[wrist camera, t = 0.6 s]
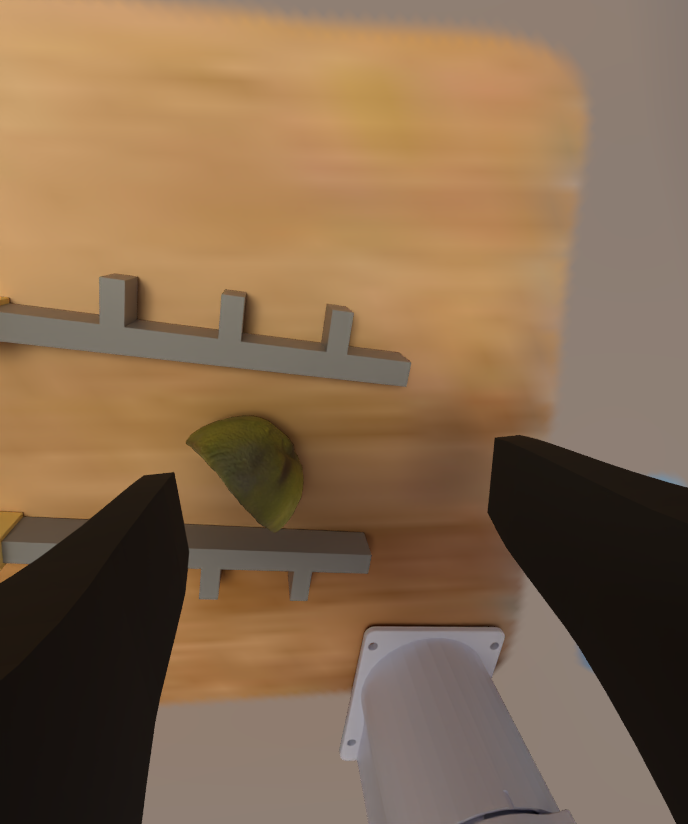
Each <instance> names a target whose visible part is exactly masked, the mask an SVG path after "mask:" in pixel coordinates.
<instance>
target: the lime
mask: <svg viewBox="0 0 688 824" xmlns="http://www.w3.org/2000/svg"><path fill="white" fill-rule="evenodd" d="M186 444H187V445H189V446H191V447H192V449H193V450H194V451H195V452H197V453H198V454H199V455H200V456H201V457H202V458H203V459H204V460H205V461H206V462H207V464H208V465H209V466H210V467H211V468H212V469H213V470H214V471H216V472H217V474H218V475H219V477H220V478H221V479H222V481H223V482H224V483H225V485H226V486H227V488H228V490H229V491H230V492H231V493H232V494H233V495H234V496H235V497H236V498H237V500H238V501H239V503H240V504H241V505H243V507H244V508H245V509H246V510H247V511H248V512H249V513H251V515H252V516H253V517H254V518H255V519H256V521H257V522H258V523H260V524H261V525H262V526H263V527H264V526H265V527H266V528H267V529H269V531H271V532H273V533H275V532H277V531H279V530H280V529H281V528H282V527H283V526H284V525H285V524H286V523H287V521H288V520H289V519H290V518H291V516H292V515H293V513H294V511H295V509H296V506H297V504H298V503H299V500H300V499H301V495H302V490H303V483H304V482H303V471H302V465H301V464H300V462H299V458H298V456H297V454H296V453H295V451H294V445H293V443H292V442H291V441H290V439H288V438H287V436H286V435H285V434H284V433H282V432H281V431H280V430H279V429H278V428H276V427H275V426H274V425H273V424H272V423H270V422H269V421H267V420H265V419H262V418H259V417H255V416H237V417H231V418H226V419H223V420H219V421H216V422H213V423H211V424H208V425H206V426H204V427H202V428H200V429H199V430H197V431H196V432H194V433H193V434H191V435H190V437H189V438H188V439H187V440H186Z"/></svg>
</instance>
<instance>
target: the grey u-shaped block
mask: <svg viewBox="0 0 688 824" xmlns="http://www.w3.org/2000/svg"><path fill="white" fill-rule="evenodd" d="M137 294H138V277H136V276H129V275H122V274H110V275H106V276H101V277H99V304H100V315H98V314H90V313H82V312H74V311H66V310H59V309H51V308H43V307H35V306H27V305H19V304H11V303H9V298H7V297H0V341H1V342H10V343H19V344H28V345H37V346H46V347H55V348H64V349H73V350H82V351H91V352H100V353H109V354H118V355H127V356H136V357H145V358H154V359H162V360H171V361H180V362H189V363H198V364H207V365H216V366H225V367H234V368H243V369H252V370H261V371H270V372H279V373H288V374H297V375H306V376H315V377H324V378H333V379H342V380H350V381H359V382H368V383H377V384H386V385H395V386H404V387H406V386H407V381H408V376H409V371H410V366H411V362H410V361H409V360H408V359H406V358H405V357H404V356H403V355H402V354H400V353H399V352H391V351H383V350H375V349H367V348H359V347H351V346H349V339H350V333H351V327H352V321H353V315H354V313H353V312H352V311H351V310H350V309H348V308H347V307H345V306H338V305H331V304H327V306H326V313H325V320H324V327H323V334H322V341H321V343H320V342H312V341H304V340H296V339H288V338H280V337H272V336H264V335H256V334H248V333H243V324H244V313H245V302H246V292H241V291H234V290H227V289H225V290H224V292H223V293H222V296H221V309H220V323H219V330H217V329H209V328H201V327H193V326H185V325H177V324H169V323H161V322H153V321H146V320H138V319H137ZM87 521H88V520H84V519H62V518H41V517H23V513H21V512H0V571H1V570H2V568H3V567H4V566H5V565H6V563H19V564H31V563H32V562H33V561H35V560H36V559H38V558H39V557H41V556H42V555H43V554H45V553H46V552H47V551H49V550H50V549H51V548H53V547H54V546H55V545H57V544H58V543H59V542H61V541H62V540H63V539H65V538H66V537H67V536H69V535H70V534H71V533H73V532H74V531H75V530H77V529H78V528H79V527H81V526H82V525H83V524H84V523H86V522H87ZM184 526H185V531H186V537H187V542H188V547H189V561H188V568H193V569H201V579H200V593H199V599H218V594H219V586H220V578H221V569H227V570H262V571H289V572H288V581H289V595H290V601H307V600H308V594H309V587H310V581H311V575H312V572H331V573H366V574H368V571H369V566H370V561H371V556H372V555H371V552H370V549H369V546H368V543H367V540H366V537H365V534H364V533H363V532H341V531H320V530H298V529H280V530H279V531H277V532H275V533H273V532H271V531H269V529H267V528H255V527H234V526H212V525H191V524H184Z"/></svg>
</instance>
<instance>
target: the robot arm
mask: <svg viewBox="0 0 688 824" xmlns="http://www.w3.org/2000/svg"><path fill="white" fill-rule="evenodd" d="M488 514H489V516H490V518H491V520H492V522H493V524H494V526H495V528H496V530H497V532H498V534H499V535H500V537H501V539H502V541H503V542H504V544H505V546H506V548H507V549H508V551H509V552H510V553H511V555H512V556H513V558H514V559H515V560H516V562H517V563H518V564H519V566H520V567H521V569H522V570H523V571H524V573H525V574H526V575H527V577H528V578H529V579H530V581H531V582H532V583H533V585H534V586H535V587H536V589H537V590H538V591H539V593H540V594H541V595H542V597H543V598H544V599H545V601H546V602H547V603H548V605H549V606H550V607H551V609H552V610H553V611H554V613H555V614H556V615H557V617H558V618H559V619H560V621H561V622H562V624H563V625H564V626H565V628H566V629H567V630H568V632H569V633H570V635H571V636H572V638H573V639H574V641H575V642H576V644H577V645H578V646H579V648H580V650H581V651H582V653H583V655H584V656H585V658H586V660H587V661H588V663H589V665H590V666H591V668H592V670H593V671H594V673H595V675H596V676H597V678H598V679H599V681H600V683H601V685H602V686H603V688H604V690H605V691H606V693H607V695H608V696H609V698H610V700H611V702H612V704H613V705H614V707H615V709H616V711H617V712H618V714H619V716H620V718H621V720H622V721H623V723H624V725H625V727H626V728H627V730H628V732H629V734H630V736H631V737H632V739H633V741H634V743H635V745H636V746H637V748H638V750H639V752H640V754H641V756H642V758H643V760H644V762H645V764H646V766H647V768H648V769H649V771H650V773H651V775H652V777H653V779H654V781H655V783H656V785H657V787H658V789H659V790H660V792H661V794H662V796H663V798H664V800H665V802H666V804H667V806H668V808H669V810H670V812H671V814H672V816H673V818H674V820H675V822H676V824H688V488H687V487H683V486H679V485H676V484H672V483H669V482H665V481H662V480H658V479H655V478H652V477H649V476H645V475H642V474H639V473H635V472H632V471H629V470H626V469H623V468H620V467H617V466H614V465H611V464H608V463H605V462H602V461H599V460H596V459H593V458H591V457H588V456H585V455H582V454H579V453H576V452H574V451H571V450H568V449H565V448H562V447H559V446H556V445H553V444H550V443H547V442H544V441H541V440H538V439H534V438H530V437H526V436H521V435H516V436H507V437H498V438H495V442H494V452H493V462H492V472H491V483H490V493H489V503H488ZM188 561H189V547H188V542H187V537H186V531H185V526H184V521H183V516H182V510H181V505H180V500H179V495H178V489H177V484H176V479H175V474H174V472H172V473H163V474H153V475H144V476H143V477H141V478H140V479H138V480H137V481H136V482H134V483H133V484H132V485H131V486H129V487H128V488H127V489H126V490H124V491H123V492H122V493H121V494H120V495H118V496H117V497H116V498H115V499H114V500H112V501H111V502H110V503H109V504H108V505H106V506H105V507H104V508H103V509H102V510H100V511H99V512H98V513H97V514H95V515H94V516H93V517H92V518H91V519H89V520H88V521H87V522H86V523H84V524H83V525H82V526H81V527H79V528H78V529H77V530H75V531H74V532H73V533H71V534H70V535H69V536H67V537H66V538H65V539H63V540H62V541H61V542H59V543H58V544H57V545H55V546H54V547H53V548H51V549H50V550H49V551H47V552H46V553H45V554H43V555H42V556H41V557H39V558H38V559H36V560H35V561H33V562H32V563H31V564H29V565H28V566H26V567H25V568H23V569H22V570H20V571H19V572H17V573H16V574H14V575H13V576H11V577H9V578H8V579H6V580H5V581H3V582H2V583H0V824H142V816H143V808H144V800H145V792H146V784H147V777H148V769H149V763H150V755H151V748H152V741H153V734H154V727H155V721H156V715H157V711H158V706H159V701H160V696H161V692H162V688H163V684H164V680H165V676H166V672H167V667H168V663H169V659H170V655H171V651H172V647H173V643H174V639H175V635H176V631H177V626H178V622H179V618H180V614H181V610H182V605H183V601H184V597H185V590H186V582H187V572H188ZM504 639H505V635H504V633H503V631H502V629H500V628H498V627H394V626H374V627H370V628H368V629H367V630H366V631H365V633H364V636H363V641H362V646H361V651H360V655H359V660H358V665H357V669H356V674H355V679H354V683H353V688H352V693H351V698H350V702H349V707H348V712H347V716H346V722H345V726H344V730H343V735H342V740H341V745H340V757H341V759H343V760H346V761H350V760H357V762H358V766H359V772H360V778H361V783H362V789H363V795H364V800H365V806H366V812H367V817H368V822H369V824H576V822H575V820H574V819H573V817H572V815H571V813H570V811H569V810H567V809H565V810H562V811H560V810H559V808H558V806H557V804H556V802H555V800H554V798H553V797H552V795H551V793H550V791H549V789H548V787H547V785H546V783H545V781H544V779H543V778H542V775H541V773H540V772H539V770H538V768H537V766H536V764H535V762H534V760H533V758H532V756H531V754H530V752H529V750H528V748H527V746H526V745H525V743H524V741H523V739H522V737H521V735H520V733H519V731H518V729H517V727H516V725H515V724H514V721H513V720H512V718H511V716H510V714H509V712H508V710H507V708H506V706H505V704H504V702H503V700H502V698H501V696H500V695H499V693H498V691H497V689H496V687H495V685H494V683H493V681H492V679H491V678H492V675H493V672H494V669H495V666H496V663H497V660H498V657H499V654H500V651H501V648H502V645H503V642H504ZM371 643H374V644H371ZM370 644H371V645H370Z"/></svg>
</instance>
